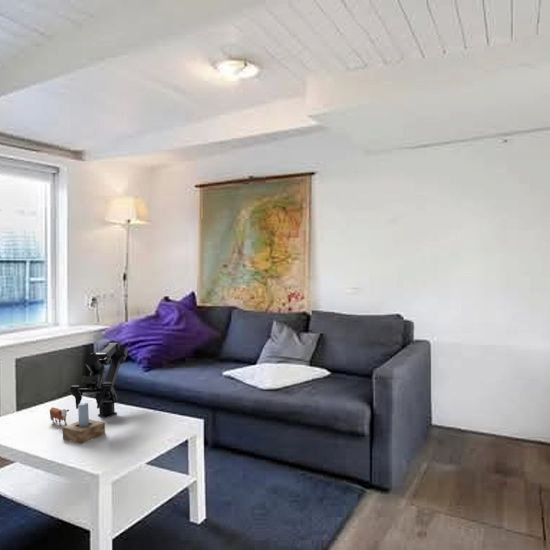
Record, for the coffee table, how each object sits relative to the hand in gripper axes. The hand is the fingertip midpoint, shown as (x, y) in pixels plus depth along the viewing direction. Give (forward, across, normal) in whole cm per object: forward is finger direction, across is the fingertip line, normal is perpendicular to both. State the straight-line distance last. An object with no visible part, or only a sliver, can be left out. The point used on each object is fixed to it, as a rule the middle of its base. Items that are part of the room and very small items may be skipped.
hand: (87, 408), depth 202 cm
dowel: (+11, 0, +5) cm, 12 cm away
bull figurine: (0, -18, +16) cm, 24 cm away
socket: (+11, 0, +5) cm, 12 cm away
